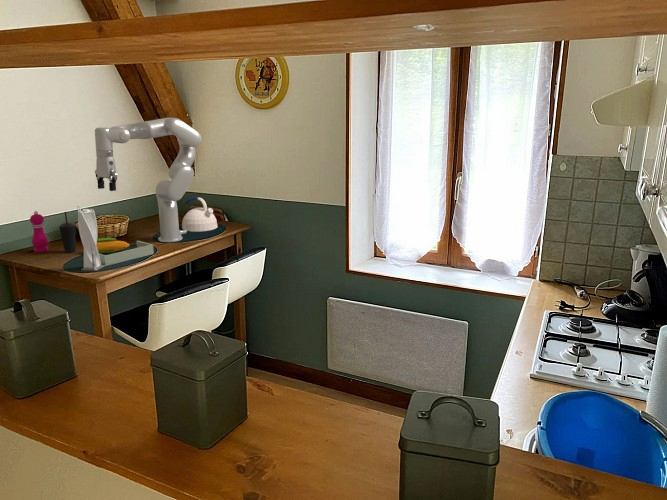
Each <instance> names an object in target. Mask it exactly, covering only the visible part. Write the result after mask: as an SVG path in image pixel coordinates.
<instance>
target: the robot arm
mask: <svg viewBox="0 0 667 500" xmlns="http://www.w3.org/2000/svg"><path fill="white" fill-rule="evenodd" d="M171 135H172V136H173V135H174V136H175V137H176V138H177V143H178V146H179V151H178V154H177V156H176V158H175V159H174V161H173V163H172V164H171V166H170V167H169V169H168V171H167V175H168V178H170V179H171V180H168V179H167V180H161V181H159V182H158V183H157V184H156V187H155V196H156V199H157V206H158V217H159V230H160V236H159V237H158V238H157V240H158V241H159V242H161V243H175V242H180V241H182V240H183V235H185V234H187V232H188V231H186V230H183V229H182V230H181V229H180V226H179V225H180V224H179V211H178V204H177V203H178V202H177V201H179V200H181V199H182V198H183V196H184V195H185V194H186V192H187V190H188V188H189V187H190V186H191V184H192V182H193V180H194V176H195V173H194V170H193V167H192V166H193V163H194V161H195V159H196V148H198V147H199V146H201V144H202V142H203V137H202V135H201V133H200V132H199V131H198V130H196V129H194V128H193V127H192V126H190V125H189V124H187V123H185V122H184V121H183V120H181V119H180V118H178V117H164V118H158V119H152V120H145V121H141V122H134V123H129V124H128V123H126V124H121V125H116V126H111V127H96V128H95V129H94V140H95V155H96V156H95V157H96V165H95V167H96V169H95V170H94V173H95V177H96V180H97V189H99V190H100V189H103V190H104V189H105V180H104V179H108V181H109V183H108V185H109V186H108V187H109V188H108V189H109V191H110V192H114V191H115V192H116V191H117V179H118V175H119V174H118V173H117V167H116V160H115V157H114V148H113V146H114V144H115V143H116V144H126V143H128V142H129V141H130V140H135V139H136V140H138V139H139V140H140V139H141V140H142V139H143V140H149V139H154V138H160V137H165V136H171ZM113 143H114V144H113Z"/></svg>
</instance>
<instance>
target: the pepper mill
mask: <svg viewBox="0 0 667 500" xmlns="http://www.w3.org/2000/svg"><path fill="white" fill-rule="evenodd" d="M44 221H45V218H44V216H43V215H42V214H39V212H38V211H36V210H35V211H34V212H33V214H32V215H30V216H29V222H30V223H31V224H32V225H31V227H32V229H33V235H32V240H31V244H32V246H33V252H34V253H45V252H48V251H49V246H48V244H49V239H48V237H47V235H46V233H45V232H44Z"/></svg>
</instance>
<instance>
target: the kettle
mask: <svg viewBox="0 0 667 500" xmlns="http://www.w3.org/2000/svg"><path fill="white" fill-rule="evenodd" d="M194 200H198V201H200V202H201V204H202V207H191V208H190V210H188V212H186V214H184V217H183V218H182V221H181V222H182V223H181V229H182V231H183V230H186V231H187V232H193V233H196V232H197V233H198V232H199V233H200V232H201V233H202V232H208V231H214V230H216V229H217V228H218V222H217V218H216V216H215V214H214V210H213V208H212V207H208V206H207V203H206V201H205V200H204V199H203V198H202V197H200V196H199V197H198V196H197V197H196V196H195V197H192V198H191V197H190V198H189V199H187V201H185V204H186V205H187V204H189V203H190V202H192V201H194Z"/></svg>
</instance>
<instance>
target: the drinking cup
mask: <svg viewBox="0 0 667 500" xmlns="http://www.w3.org/2000/svg"><path fill="white" fill-rule="evenodd" d="M64 218H65V221H64V222H62V223H60V224H58V225H57V226H58V228H59V232H60V237H61V240H62V245H63V250H64V253H66V254H72V253H75V252H76V251H77V250H76V249H77V247H76V246H77V245H76V243H77V242H76V225H77V224H76V223H74V222H71V221H68V217H67V211H64Z"/></svg>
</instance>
